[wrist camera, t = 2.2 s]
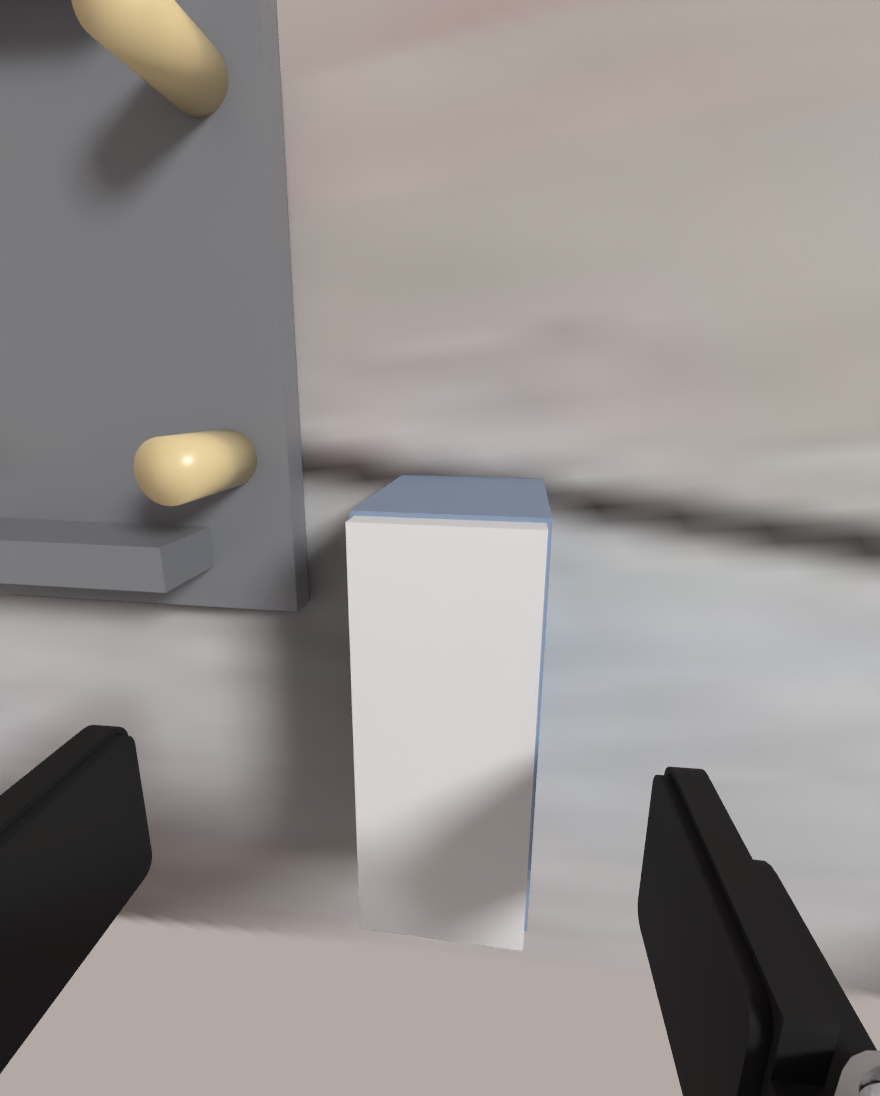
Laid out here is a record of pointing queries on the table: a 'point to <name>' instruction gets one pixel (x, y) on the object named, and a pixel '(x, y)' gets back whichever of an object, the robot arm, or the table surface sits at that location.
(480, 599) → the block
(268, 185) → the tray
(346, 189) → the table surface
